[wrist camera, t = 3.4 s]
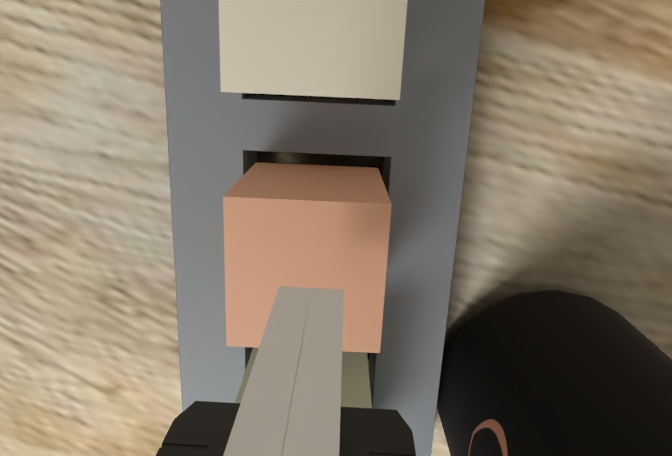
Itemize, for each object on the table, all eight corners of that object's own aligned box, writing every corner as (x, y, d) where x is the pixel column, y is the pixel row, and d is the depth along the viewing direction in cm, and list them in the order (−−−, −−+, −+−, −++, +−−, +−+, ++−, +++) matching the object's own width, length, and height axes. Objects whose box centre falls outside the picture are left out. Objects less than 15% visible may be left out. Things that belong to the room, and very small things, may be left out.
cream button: (255, 86, 20) (220, 92, 14) (255, -57, 18) (215, -116, 13) (383, 92, 20) (399, 99, 14) (393, -51, 18) (416, -106, 13)
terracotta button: (256, 275, 22) (226, 346, 16) (256, 162, 21) (222, 196, 15) (370, 280, 22) (380, 353, 16) (378, 167, 21) (391, 204, 15)
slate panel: (204, 423, 28) (185, 470, 25) (183, -110, 21) (152, -144, 17) (417, 433, 28) (427, 481, 25) (474, -96, 21) (500, -129, 17)
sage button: (257, 428, 25) (230, 536, 19) (256, 336, 23) (228, 423, 17) (359, 433, 25) (365, 543, 19) (366, 341, 23) (373, 430, 17)
